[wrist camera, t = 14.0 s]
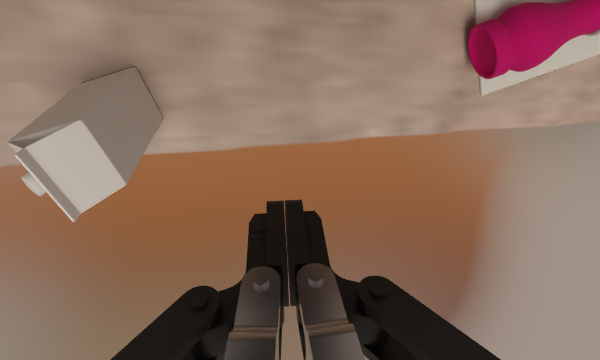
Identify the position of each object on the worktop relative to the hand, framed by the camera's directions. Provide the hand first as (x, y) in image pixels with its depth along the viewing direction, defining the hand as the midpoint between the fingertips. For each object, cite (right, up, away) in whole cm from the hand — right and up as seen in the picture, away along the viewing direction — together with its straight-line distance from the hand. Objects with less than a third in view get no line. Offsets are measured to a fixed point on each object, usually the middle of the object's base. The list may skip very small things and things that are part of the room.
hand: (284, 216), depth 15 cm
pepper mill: (+21, +16, +25) cm, 36 cm away
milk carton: (-21, +12, +29) cm, 38 cm away
